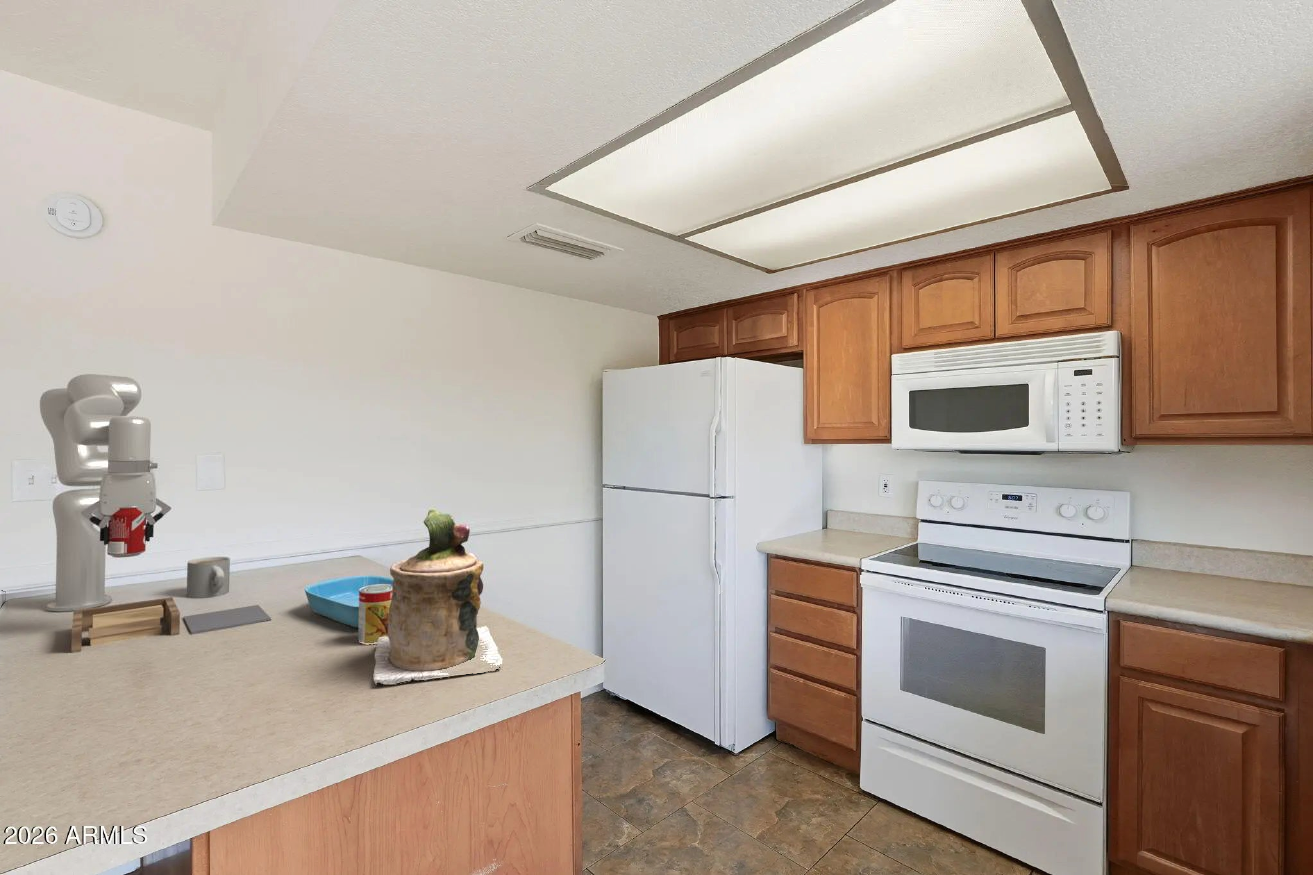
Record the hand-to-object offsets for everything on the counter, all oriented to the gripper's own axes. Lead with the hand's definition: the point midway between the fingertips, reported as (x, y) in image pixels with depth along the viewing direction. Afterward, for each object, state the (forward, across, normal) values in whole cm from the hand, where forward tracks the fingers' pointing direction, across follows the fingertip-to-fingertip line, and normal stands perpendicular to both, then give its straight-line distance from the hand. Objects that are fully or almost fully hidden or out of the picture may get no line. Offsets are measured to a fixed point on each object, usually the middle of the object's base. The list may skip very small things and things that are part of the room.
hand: (127, 541), depth 139 cm
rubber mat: (+21, -19, +6) cm, 29 cm away
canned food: (+21, -42, +46) cm, 66 cm away
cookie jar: (+20, -48, +67) cm, 85 cm away
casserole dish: (+21, -47, +24) cm, 57 cm away
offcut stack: (+21, 0, +7) cm, 22 cm away
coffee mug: (+22, -19, -25) cm, 38 cm away
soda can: (+4, 0, 0) cm, 4 cm away
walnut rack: (+21, 0, +3) cm, 21 cm away
